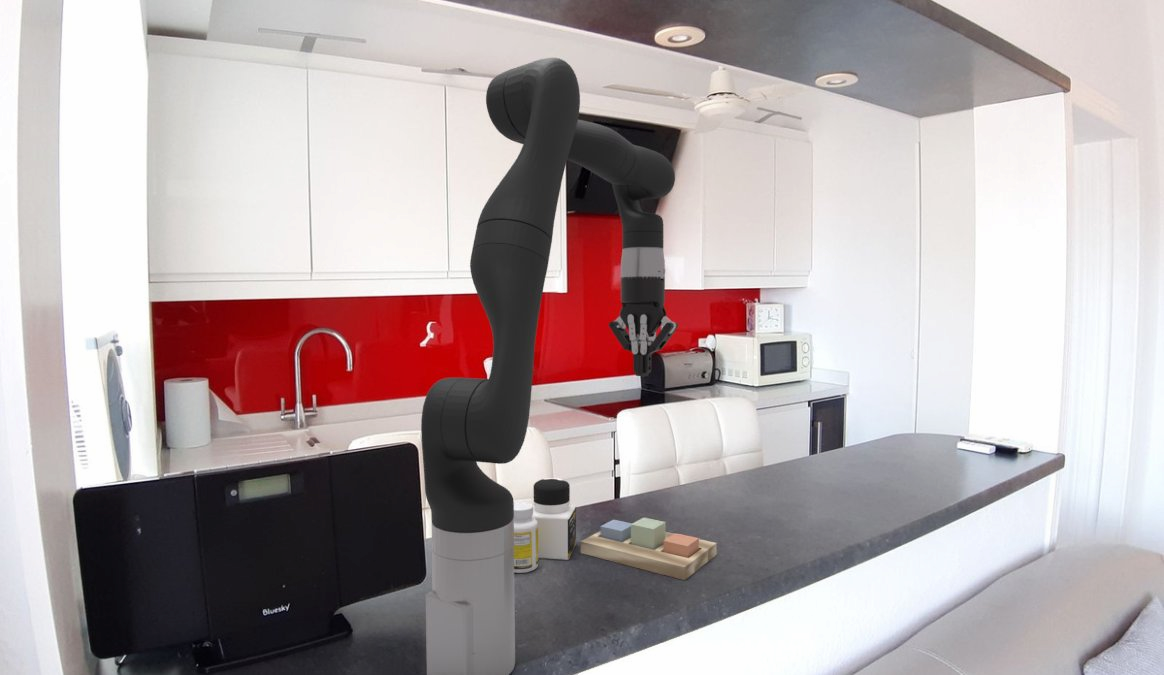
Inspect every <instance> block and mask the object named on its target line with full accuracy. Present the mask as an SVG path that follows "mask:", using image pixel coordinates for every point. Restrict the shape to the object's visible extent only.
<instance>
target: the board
mask: <svg viewBox="0 0 1164 675" xmlns="http://www.w3.org/2000/svg"><path fill="white" fill-rule="evenodd" d="M673 534H674V533H672V532H667V531H666V539H667V538H668V537H670V536H672V535H673ZM717 544H718V543H717V542H713V541H709V540H705V539H700V538H699V551H698V552H696V553H695V554H694V555H692V556H691V557H690V558H686V557H681V556H677V555H673V554H669V553H665V552H663V545H661V546H660V547H658V548H657V549H655V550H652V549H648V548H644V547H640V546H636V545H631V538H629V539H627V540H626V541H624V542H619V541H615V540H611V539H606V538H602V537H600V530H599V531H597V532H596V533H594V534H592V535H590V536H588V537H587V538H585V539H582V540H580V554H583V555H587V556H590V557H595V558H598V559H600V560H601V559H602V560H605V561H606V560H607V561H611V562H614V563H617V564H621V565H625V566H629V567H632V568H636V569H641V570H644V571H648V572H652V573H655V574H659V575H662V576H666V577H667V576H668V577H670V578H675V579H677V580H681V581H685V580H687V579H688V578H690V577H691V576H692V575H693V574H695V573H696V572H697V571H698V570H699V569H701V568H702V567H703V566H705V564H707V563H709V562H710V561H711V560H712V559H713V558H715V557H716V556H717V550H718V549H717Z"/></svg>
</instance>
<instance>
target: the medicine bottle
mask: <svg viewBox="0 0 1164 675" xmlns="http://www.w3.org/2000/svg"><path fill="white" fill-rule="evenodd" d="M570 486H571V485H570V483H569V481H567V480H564V479H563V478H557V477H548V478H542V479H539V480H537V481H536V482H534V484H533V515H532V517H533V518H535V519H536V520H537V523H538V559H547V560H562V561H568V560H570V558H571V555H572V553H573V552H574V549H575V547H576V545H577V506H576V504H570V503H571V498H570V496H571V492H570V490H571V489H570V488H571V487H570Z"/></svg>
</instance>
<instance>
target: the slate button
mask: <svg viewBox="0 0 1164 675" xmlns="http://www.w3.org/2000/svg"><path fill="white" fill-rule="evenodd" d="M631 524H632V523H631V522H626V521H622V520H617V519H612V520H610V521H607V522H605V523H604V524H603V525H600V527H599V528H600V530H599V531H600V537H602V538H606V539H611V540H615V541H619V542H624V541H626V540H627V539H629V538H631Z"/></svg>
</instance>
